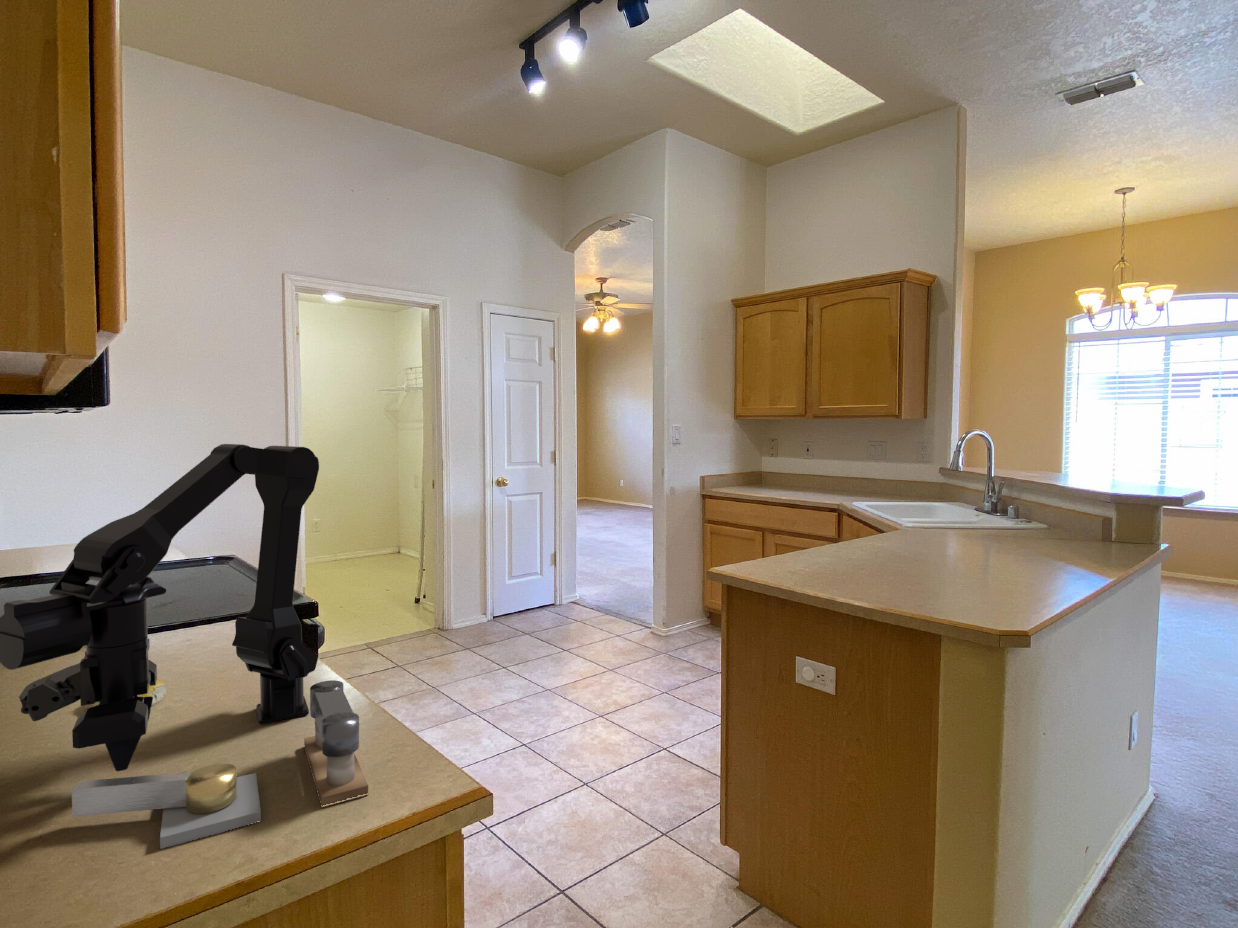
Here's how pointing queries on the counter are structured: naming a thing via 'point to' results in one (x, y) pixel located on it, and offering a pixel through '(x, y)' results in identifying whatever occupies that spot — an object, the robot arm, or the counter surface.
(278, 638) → the robot arm
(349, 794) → the peg rack
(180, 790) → the lever switch
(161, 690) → the bread roll
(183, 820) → the plate
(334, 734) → the grey knobbed rod
